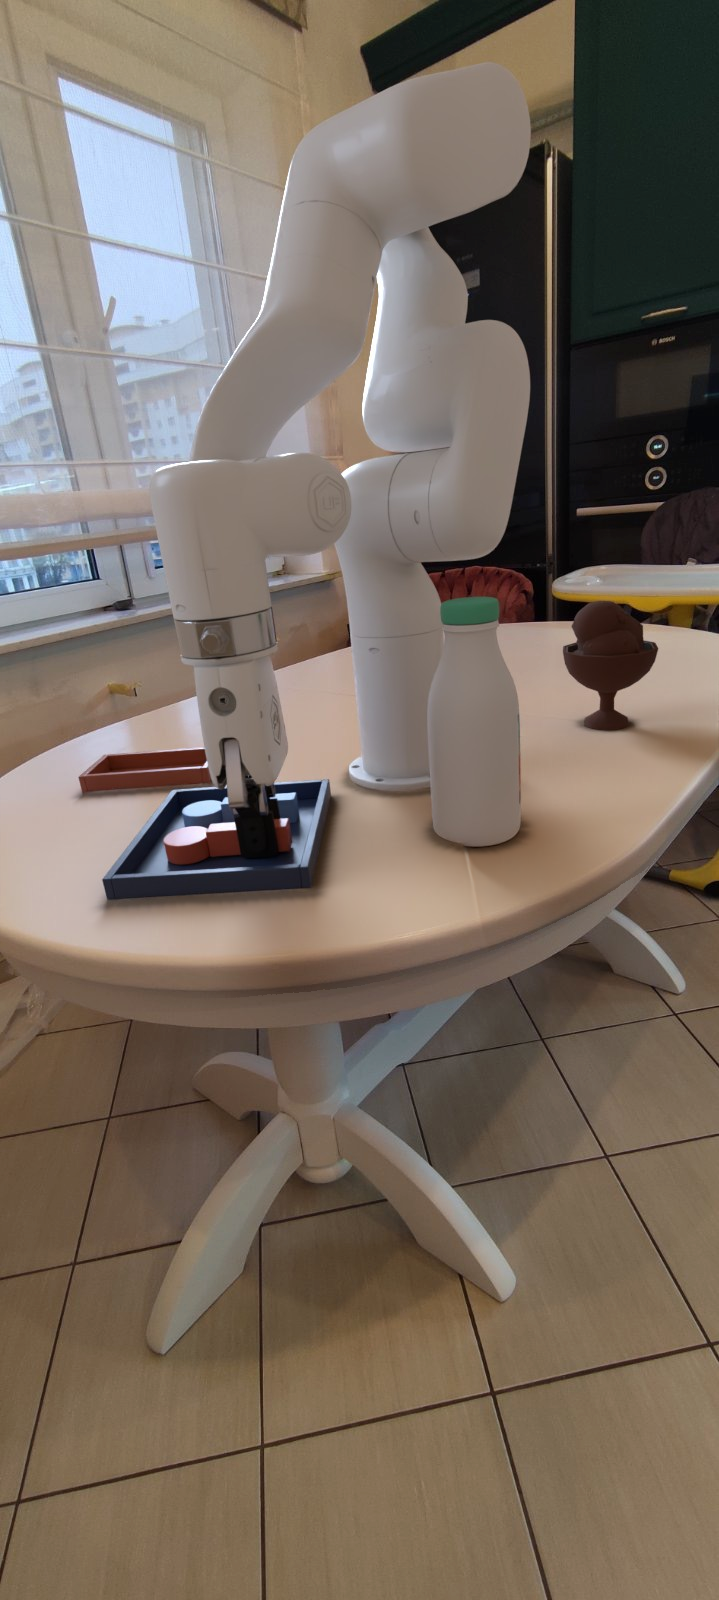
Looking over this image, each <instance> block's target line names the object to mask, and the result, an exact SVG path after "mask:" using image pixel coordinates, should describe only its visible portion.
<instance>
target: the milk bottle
mask: <svg viewBox="0 0 719 1600" xmlns="http://www.w3.org/2000/svg"><path fill="white" fill-rule="evenodd" d="M440 615H441V621H442V628H441V629H442V630H443V635H444V647H443V652H442V656H441V659H440V662H439V665H438V668H437V670H436V673H435V676H434V678H433V681H432V684H431V687H430V691H429V697H428V707H427V719H428V748H429V768H430V787H429V788H430V802H431V818H432V829H433V831H434V833H436V834H437V836H439V837H440V838H442V839H444V840H446V841H449V842H453V843H458V844H462V845H463V847H474V848H475V847H489V846H493V845H499V844H502V843H505V842H507V841H509V840H511V839H513V837H515V836H516V835H517V834H518V832H519V831H520V828H521V822H522V821H521V819H522V817H521V815H522V806H521V805H522V795H521V794H522V790H521V788H522V784H521V783H522V782H521V781H522V780H521V778H522V777H521V776H522V775H521V774H522V773H521V772H522V771H521V769H522V768H521V721H520V704H519V703H520V702H519V696H518V692H517V686H516V684H515V680H514V678H513V676H512V673H511V671H510V669H509V667H508V666H507V663H506V662H505V659H504V657H503V654H502V650H501V648H500V644H499V641H498V635H497V631H498V627H499V626H500V622H499V618H500V602H499V600H498V599H497V597H492V596H469V597H468V596H467V597H459V598H451V599H448V600H445V601H442V602H441V607H440Z"/></svg>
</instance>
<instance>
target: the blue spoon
mask: <svg viewBox="0 0 719 1600" xmlns="http://www.w3.org/2000/svg"><path fill="white" fill-rule="evenodd" d="M275 798H277V800H278V806H279V812H280V819H283V818H289V822H290V823H297V821H298V817H299V809H298V802H297V794H296V793H283V794H276V795H275V797H272V798H270V799H275ZM182 815H183V820H184V825H185V827H191V826H201V827H205V828H207V829H208V827H209V826H210V824H216V823H229V822H235V820H234V816H233V811H232V809H230V808H229V804H228V797H225V798H224V800H223V801H222V802H220V801H215V800H207V801H200V802H196V803H193V804H190V805H188V806H186V807H185V808H184V809H183V810H182Z"/></svg>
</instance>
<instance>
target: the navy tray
mask: <svg viewBox="0 0 719 1600" xmlns="http://www.w3.org/2000/svg"><path fill="white" fill-rule="evenodd" d="M330 782H331V781H330V779H329V778H324V779H310V780H309V779H308V780H296V781H281V782H274V783H275V790H276V794H283V793H296V794H297V802H298V809H299V817H298V821H297V823H290V829H291V836H292V845H291V849H290V851H287V852H278V854H277V855H276V856H271V857H257V858H243V857H242V856H241V855H230V856H216V857H211V856H209V857H207V858H206V859H204V860H201V861H199V862H196V863H192V864H185V865H178V864H173V863H170V862H169V861H168V859H167V855H166V851H165V846H164V842H163V840H164V838H165V836H166V835H168V834H169V833H171V832H173V831H175V830H177V829H180V828H185V825H184V820H183V815H182V810H183V809H184V808H185V807H186V806H188V805H190V804H193V803H196V802H200V801H207V800H215V801H220V802H222V801H223V800H224V798H225V797H228V792H227V785H226V786H225V788H224V789H222V790H221V789H218V788H217V787H216V786H208V787H195V788H180V789H171V790H170V792H169V793H168V794H167V796H166V797H165V798H164V799H163V801H162V802H161V804H160V805H159V806H158V807H157V808H156V810H155V811H154V812H153V814H152V815H151V816H150V817H149V819H148V820H147V821H146V822H145V824H144V825H143V827H142V828H141V829H140V830H139V832H138V833H137V834H136V835H135V837H133V840H132V841H131V842H130V843H129V845H127V847H126V848H125V849H124V850H123V852H122V853H121V854H120V856H119V857H118V858H117V860H116V861H115V862H114V863H113V864H112V866H111V867H110V869H108V871H107V873H106V874H105V875H104V876H103V877H102V878H101V881H102V884H103V889H104V892H105V896H106V900H107V901H109V900H111V901H112V900H127V899H130V900H131V899H145V898H147V899H148V898H162V897H180V896H181V897H182V896H196V895H198V896H199V895H214V894H231V893H249V892H264V891H265V892H266V891H283V890H301V889H311V888H312V885H313V879H314V875H315V871H316V866H317V862H318V857H319V852H320V848H321V844H322V839H323V834H324V831H325V825H326V821H327V818H328V817H327V816H328V812H329V807H330V802H331V798H332V792H331V791H332V790H331V783H330Z"/></svg>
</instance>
